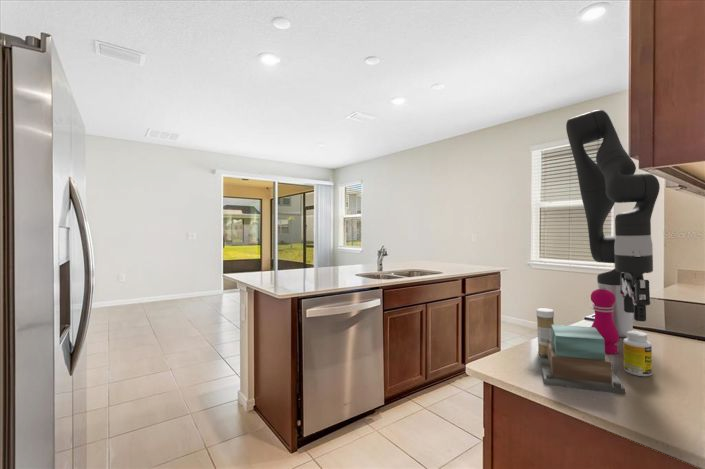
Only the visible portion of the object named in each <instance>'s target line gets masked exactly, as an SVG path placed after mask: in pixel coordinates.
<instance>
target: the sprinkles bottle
mask: <svg viewBox="0 0 705 469" xmlns="http://www.w3.org/2000/svg"><path fill="white" fill-rule="evenodd" d="M535 312H536V313H535V314H536V319H537V320H536V321H537V323H536V324H537V343H538V344H537V346H538V351H537V353H538V354H539V355H542V354H546V355H547V356H548V341H552V328H551V324H552V325H555V324H554V323H555V322H554V318H555V311H554V310H553V309H552V308H546V307H545V308H544V307H541V308H540V307H539V308H536V310H535Z"/></svg>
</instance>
